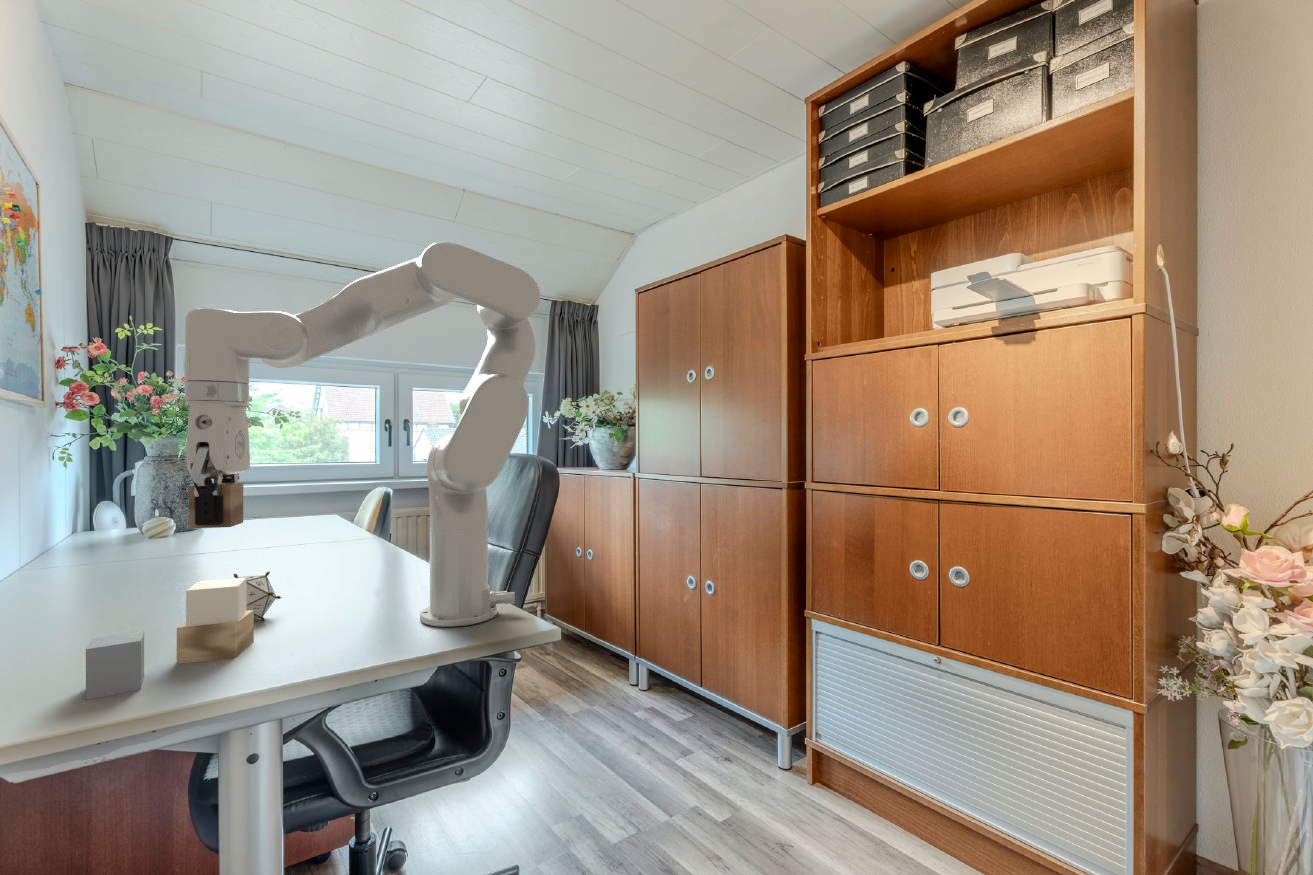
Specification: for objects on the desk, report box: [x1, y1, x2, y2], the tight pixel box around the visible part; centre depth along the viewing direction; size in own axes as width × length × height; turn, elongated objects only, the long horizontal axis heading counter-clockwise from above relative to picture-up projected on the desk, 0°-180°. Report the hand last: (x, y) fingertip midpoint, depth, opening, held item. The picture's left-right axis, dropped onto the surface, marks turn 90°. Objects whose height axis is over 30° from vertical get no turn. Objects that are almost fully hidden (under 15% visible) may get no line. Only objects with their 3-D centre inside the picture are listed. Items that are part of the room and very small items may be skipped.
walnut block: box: [188, 481, 244, 530], centre depth 88 cm, size 5×5×6 cm
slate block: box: [85, 630, 145, 701], centre depth 76 cm, size 5×5×6 cm
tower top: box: [185, 577, 247, 627], centre depth 88 cm, size 6×6×5 cm
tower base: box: [176, 610, 255, 664], centre depth 88 cm, size 7×7×5 cm
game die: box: [233, 570, 282, 623], centre depth 103 cm, size 9×8×10 cm
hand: (217, 520), depth 88 cm, fingers closed on walnut block, 5 cm apart
